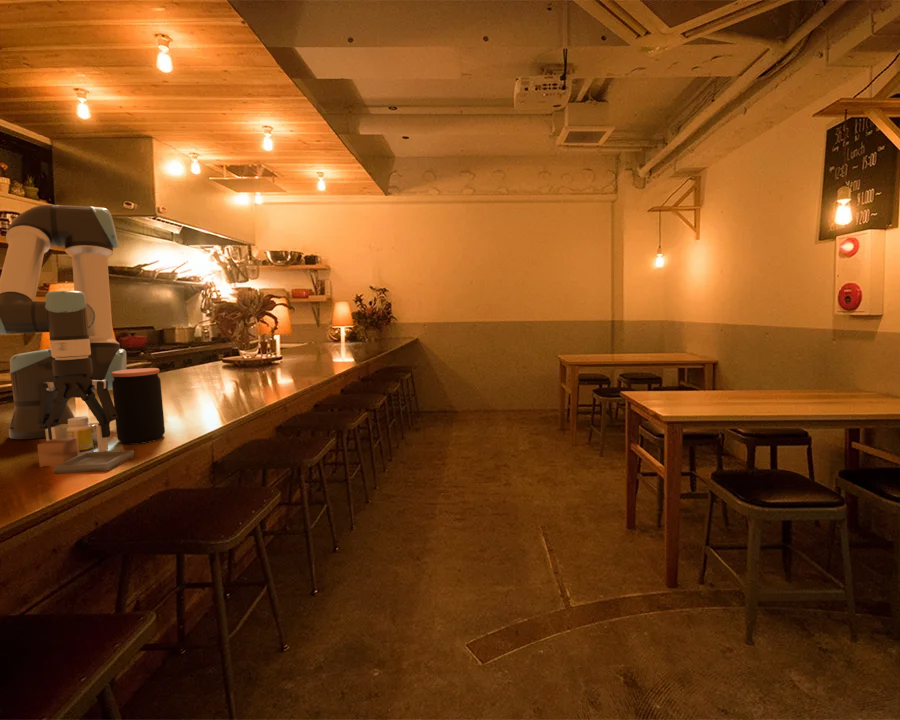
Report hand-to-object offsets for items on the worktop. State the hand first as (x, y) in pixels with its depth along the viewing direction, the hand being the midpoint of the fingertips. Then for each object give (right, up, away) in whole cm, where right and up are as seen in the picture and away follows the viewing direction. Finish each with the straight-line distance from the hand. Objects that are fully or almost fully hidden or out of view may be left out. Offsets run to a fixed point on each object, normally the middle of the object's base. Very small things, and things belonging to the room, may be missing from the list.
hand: (81, 452), depth 124 cm
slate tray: (+10, -1, -10) cm, 14 cm away
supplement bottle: (0, 0, 0) cm, 0 cm away
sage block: (-10, 0, +7) cm, 12 cm away
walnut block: (+1, -1, -8) cm, 8 cm away
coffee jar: (+7, +1, +12) cm, 14 cm away
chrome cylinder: (-3, +1, +8) cm, 8 cm away
